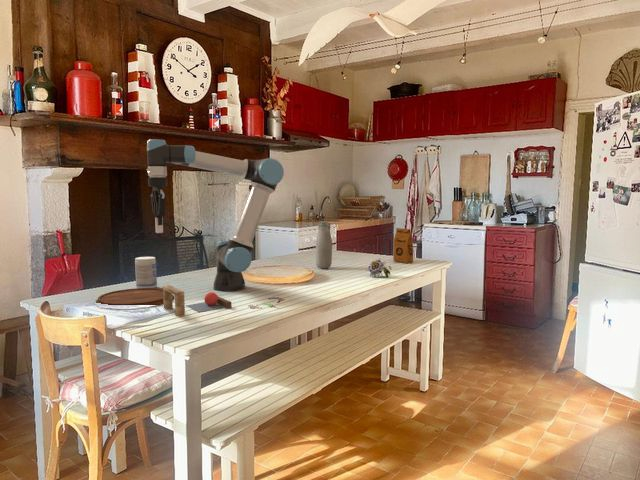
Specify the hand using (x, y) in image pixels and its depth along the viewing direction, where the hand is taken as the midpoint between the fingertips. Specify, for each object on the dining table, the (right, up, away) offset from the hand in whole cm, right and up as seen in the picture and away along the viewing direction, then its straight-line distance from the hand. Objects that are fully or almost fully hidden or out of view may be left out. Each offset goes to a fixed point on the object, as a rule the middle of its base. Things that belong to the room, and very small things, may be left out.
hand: (159, 232), depth 207 cm
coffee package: (+123, -18, +107) cm, 164 cm away
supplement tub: (-15, -27, +28) cm, 42 cm away
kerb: (+27, -30, -4) cm, 40 cm away
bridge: (+11, -31, -16) cm, 37 cm away
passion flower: (+101, -23, +59) cm, 119 cm away
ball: (+24, -28, -6) cm, 37 cm away
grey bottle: (+71, -20, +83) cm, 111 cm away
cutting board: (-12, -30, +4) cm, 32 cm away
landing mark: (+22, -31, -7) cm, 38 cm away
